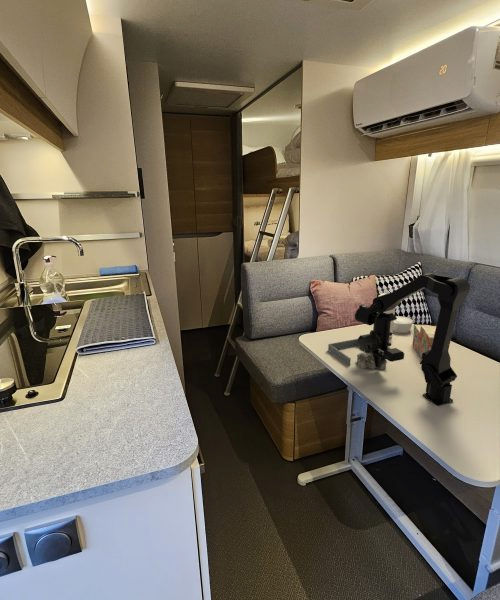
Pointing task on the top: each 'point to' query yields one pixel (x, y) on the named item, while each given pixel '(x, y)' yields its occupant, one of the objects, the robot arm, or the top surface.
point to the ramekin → (402, 324)
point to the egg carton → (368, 361)
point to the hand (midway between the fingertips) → (377, 367)
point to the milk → (389, 313)
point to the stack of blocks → (423, 338)
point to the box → (339, 345)
